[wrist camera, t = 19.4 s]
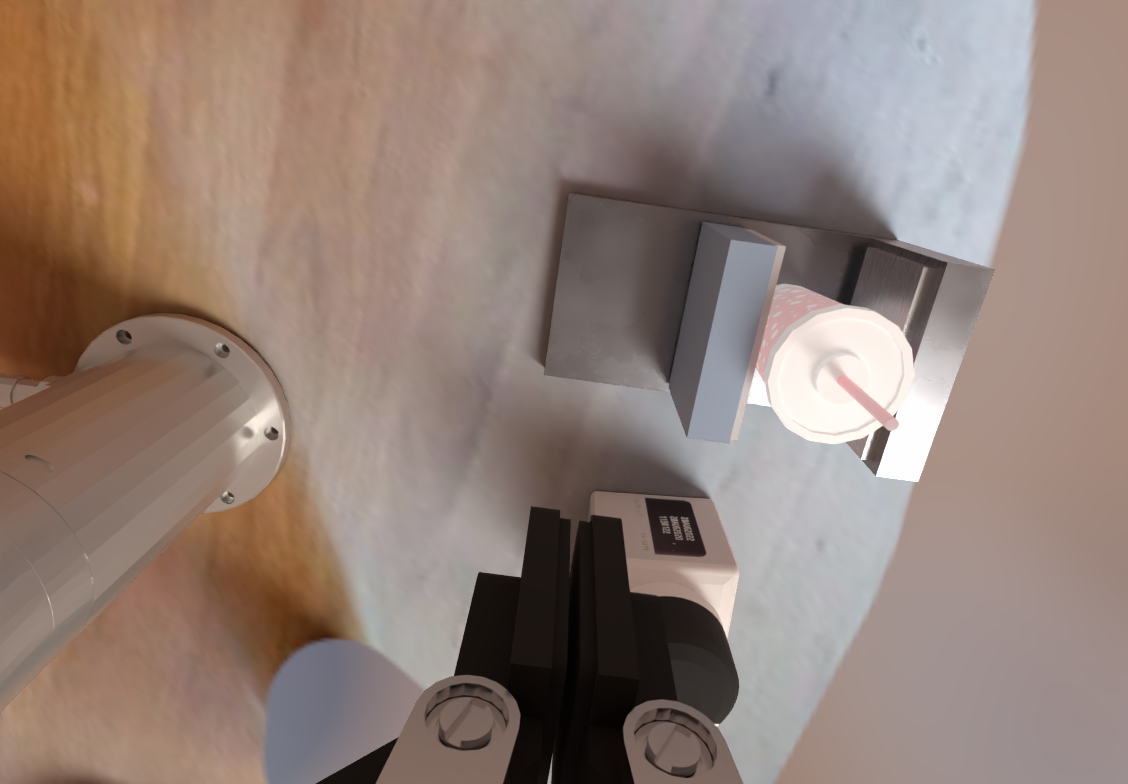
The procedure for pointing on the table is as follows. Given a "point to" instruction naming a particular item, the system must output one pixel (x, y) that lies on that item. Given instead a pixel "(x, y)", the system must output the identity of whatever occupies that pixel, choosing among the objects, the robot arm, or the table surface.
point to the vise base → (811, 260)
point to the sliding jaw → (723, 329)
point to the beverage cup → (832, 366)
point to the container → (684, 588)
